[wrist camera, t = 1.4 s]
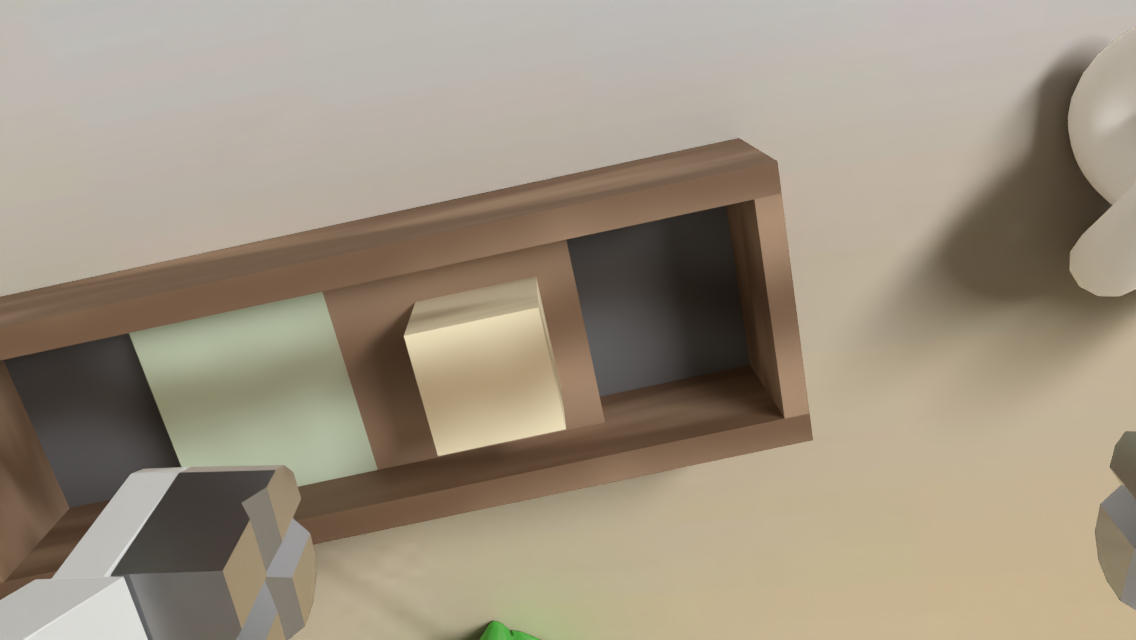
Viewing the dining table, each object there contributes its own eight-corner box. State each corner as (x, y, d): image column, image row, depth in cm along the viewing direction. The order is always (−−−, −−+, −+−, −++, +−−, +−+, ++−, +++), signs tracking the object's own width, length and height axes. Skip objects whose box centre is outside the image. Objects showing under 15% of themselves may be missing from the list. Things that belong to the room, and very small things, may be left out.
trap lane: (772, 381, 42) (812, 440, 36) (61, 530, 43) (-8, 611, 37) (738, 138, 38) (777, 161, 33) (-41, 305, 39) (-136, 356, 33)
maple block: (561, 387, 38) (566, 429, 35) (445, 411, 38) (437, 456, 35) (536, 276, 37) (538, 307, 33) (415, 301, 37) (403, 335, 33)
